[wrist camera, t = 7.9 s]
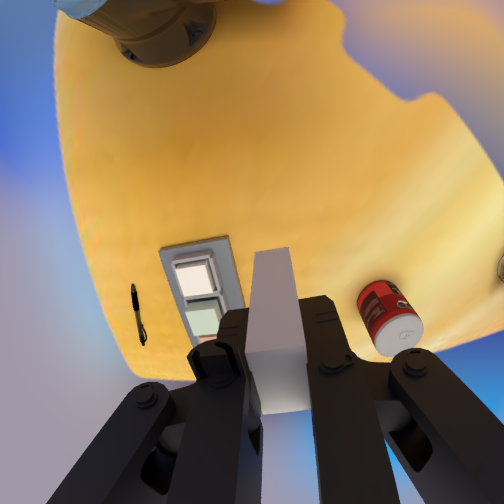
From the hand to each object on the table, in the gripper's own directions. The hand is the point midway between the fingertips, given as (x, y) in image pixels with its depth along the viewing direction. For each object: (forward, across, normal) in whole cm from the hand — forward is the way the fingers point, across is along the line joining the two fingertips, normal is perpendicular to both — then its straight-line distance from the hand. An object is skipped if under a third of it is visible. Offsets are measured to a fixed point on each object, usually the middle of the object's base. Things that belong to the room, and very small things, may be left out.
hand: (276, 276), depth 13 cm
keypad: (+28, -13, -17) cm, 35 cm away
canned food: (+29, +15, -22) cm, 39 cm away
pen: (+29, -27, -19) cm, 44 cm away
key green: (+25, -13, -17) cm, 32 cm away
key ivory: (+26, -13, -11) cm, 31 cm away
